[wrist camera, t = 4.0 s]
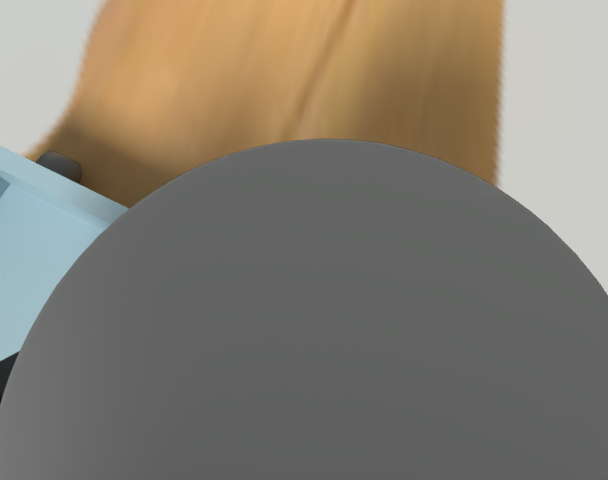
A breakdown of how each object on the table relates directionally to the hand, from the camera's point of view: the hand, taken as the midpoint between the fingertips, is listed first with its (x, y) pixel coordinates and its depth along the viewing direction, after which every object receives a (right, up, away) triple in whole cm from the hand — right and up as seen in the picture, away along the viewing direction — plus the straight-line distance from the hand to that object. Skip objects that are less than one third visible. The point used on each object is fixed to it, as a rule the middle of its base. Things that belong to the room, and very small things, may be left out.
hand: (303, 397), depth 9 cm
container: (-1, -3, +9) cm, 9 cm away
